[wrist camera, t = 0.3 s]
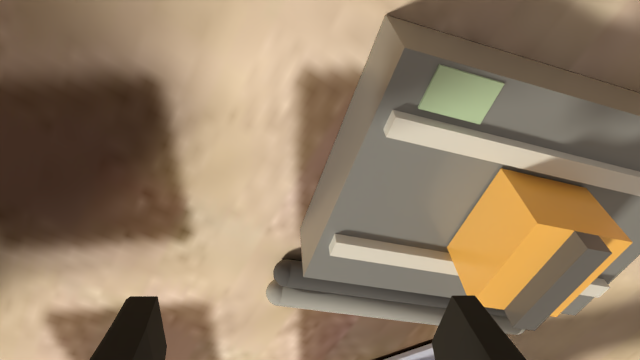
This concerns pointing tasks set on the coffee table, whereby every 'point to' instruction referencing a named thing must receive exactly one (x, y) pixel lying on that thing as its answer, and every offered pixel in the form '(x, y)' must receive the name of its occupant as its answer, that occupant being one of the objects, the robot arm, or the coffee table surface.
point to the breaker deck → (460, 157)
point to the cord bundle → (361, 299)
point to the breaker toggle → (534, 246)
